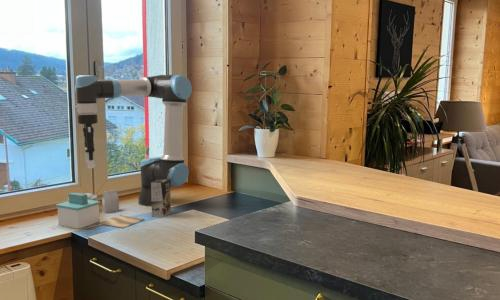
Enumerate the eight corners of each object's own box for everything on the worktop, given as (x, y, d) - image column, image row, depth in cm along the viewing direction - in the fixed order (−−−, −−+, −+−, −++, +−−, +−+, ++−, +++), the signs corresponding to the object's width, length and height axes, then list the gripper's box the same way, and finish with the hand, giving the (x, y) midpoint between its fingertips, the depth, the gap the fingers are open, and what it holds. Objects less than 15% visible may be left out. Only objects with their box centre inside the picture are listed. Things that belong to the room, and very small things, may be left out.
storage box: (80, 217, 215) (79, 200, 214) (99, 221, 209) (98, 203, 208) (58, 224, 204) (57, 206, 203) (78, 228, 199) (77, 210, 198)
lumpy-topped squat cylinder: (66, 212, 224) (65, 194, 223) (92, 207, 233) (91, 190, 232) (75, 217, 217) (74, 198, 215) (102, 211, 225) (101, 194, 224)
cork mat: (120, 215, 218) (120, 215, 218) (144, 220, 212) (144, 219, 212) (97, 223, 206) (97, 222, 206) (122, 228, 199) (122, 227, 199)
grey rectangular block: (119, 210, 227) (118, 190, 226) (105, 213, 223) (104, 192, 221) (116, 209, 230) (115, 189, 228) (102, 211, 226) (101, 191, 224)
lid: (79, 202, 215) (78, 189, 214) (100, 205, 209) (100, 192, 208) (55, 209, 203) (55, 195, 202) (77, 213, 197) (76, 198, 196)
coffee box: (164, 217, 216) (163, 182, 213) (151, 216, 217) (150, 182, 215) (171, 212, 225) (171, 178, 222) (159, 211, 226) (158, 178, 224)
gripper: (76, 112, 202) (79, 161, 205) (79, 116, 179) (82, 171, 182) (94, 111, 205) (97, 160, 208) (99, 115, 182) (102, 169, 185)
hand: (90, 165), depth 195 cm, fingers open, 13 cm apart
